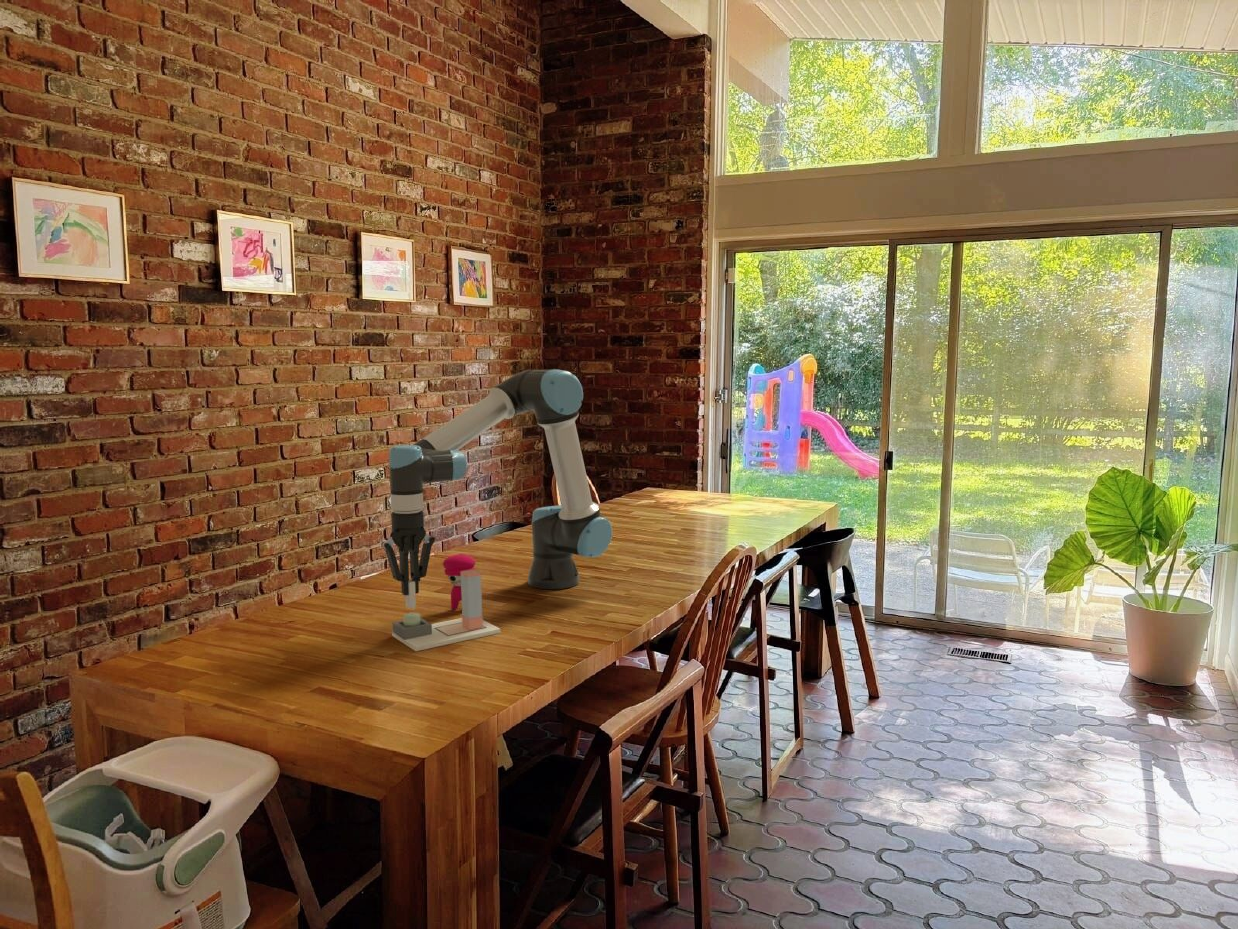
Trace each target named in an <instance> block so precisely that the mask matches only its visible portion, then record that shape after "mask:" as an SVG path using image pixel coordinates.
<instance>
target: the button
mask: <svg viewBox="0 0 1238 929" xmlns="http://www.w3.org/2000/svg"><path fill="white" fill-rule="evenodd" d="M420 618H421V613H418V612H409V613H404V614H403V616H402V619H403V620H402V621H403V623H404V627H406V628H408V627H413V626H418V625H421V621H420Z"/></svg>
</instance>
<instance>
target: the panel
mask: <svg viewBox="0 0 1238 929" xmlns="http://www.w3.org/2000/svg"><path fill="white" fill-rule="evenodd" d="M420 621H421V625H418V626H413V627H408V628H406V627H404V623H403V620H398V621H395V622H394V621H393V622H392V632H391V633H392V634H391V635H392V637H393V638H395V639H396V640H398V641H400V642H401V643H402V644H404V645H406V646H407V647H409V648H410V649H411V650H413V651H414V652H419V651H424V650H428V649H432V648H437V647H442V646H445V645H452V644H455V643H459V642H460V643H461V642H464V641H469V640H474V639H479V638H485V637H488V636H492V635H497V634H501V628H499V627H498V626H495V625H494V624H492V623H490V622H489V621H485V620H484V619H483V628H479V629H475V630H470V631H469V630H467V629H465V628H463V627H462V617H459V618H455V619H450V620H446V621H445V620H444V621H439V622H435V623H430V622H428V621H427V620H426V619H424V618H422V617H420Z"/></svg>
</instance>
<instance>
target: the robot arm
mask: <svg viewBox="0 0 1238 929" xmlns="http://www.w3.org/2000/svg"><path fill="white" fill-rule="evenodd" d="M583 391H584V390H583V386H582V384H581V382H580V380H579V379H578V377H577V376H576V375H575V374H573V373H572V372H570V371H568V370H562V369H558V368H557V369H556V368H553V369H526V370H523V371H521V372H517V373H516V374H514V375H512V376H510V377H508V378H506V379H505V380H504V381H502V382H500V383H499V384H497V385H496V386H494V387H493V388H491V389H490V390H489V392H488V395H487V396H486V397H484V398H482V399H481V400H479V401H478V402H476V403H475V404H473V405H472V406H471V407H468V409H466V410H464V411H463V412H461V413H459V414H458V415H457V416H455V417H453V418H452V419H451V420H448V422H446V423H445V424H443V425H441V426H440V427H438V428H437V429H435V430H434V431H432V432H431V433H429V434H428V435H425V437H423V438H422V439H420V440H419V441H417V442H415V443H413V444H403V445H393V446H392V447H391V448H390V449H389V451H388V452H389V454H388V469H389V472H388V473H389V485H390V486H389V487H390V488H389V489H390V494H389V495H390V510H391V511H392V512H391V513H390V518H391V520H390V521H391V522H390V524H391V533H390V535H389V538H388V539H387V540H386V541H382V542H381V543H380V546H381V547H382V549H383V550H384V551H385V554H386V557H387V561H388V566H389V568H390V572H391V575H392V578H393V579H394V580H396V581H397V582H401V583H400V584H401V585H400V586H401V587H400V588H401V594H402V595H403V596H405V597H404V598H405V608H407V609H409V610H414V609H417V600H416V597H417V596H416V594H419V592H420V590H419V589H420V584H419V583H420V581H421V579H422V578H425V577H427V572H428V568H429V566H428V565H429V561H430V557H431V551H432V547H433V545H434V543H435V542H436V537H434V536H431V535H430V534H427V531H426V530H425V516H424V514H425V512H424V511H423V509H424V485H425V484H426V485H427V484H432V483H433V484H434V483H442V482H453V481H456V480H461V479H463V478H464V477H465V476H466V474H467V471H468V461H467V458H466V455H464V454H465V453H463V452H462V451H461V450H460V449H462V448H463V447H464V446H466V445H468V444H469V443H471V442H472V441H473V440H474V439H476V438H478V437H479V436H480V435H482V434H483V433H485V432H486V431H488V430H489V429H491V428H493V427H494V426H496V425H497V424H499V423H500V422H502V421H503V420H504V419H505V420H509V419H510V420H511V419H513V418H514V417H516V416H517V415H519V414H523V413H530V412H531V413H534V414H535V420H536V423H537V425H539V426H540V427H541V428H543V429H544V433H545V437H546V442H547V446H548V450H549V455H550V459H551V464H552V468H553V472H554V478H555V481H556V485H557V490H558V496H559V498H560V503H561V505H558V504H557V505H551V506H543V507H537V508H535V509H534V510H533V511H532V521H531V529H532V530H531V531H532V532H531V533H532V554H533V555H532V556H533V557H532V561H531V565H530V568H529V572H528V575H527V584H528V586H529V587H531V588H535V589H540V590H562V589H568V588H572V587H575V586H576V585H578V584H579V582H580V576H579V575H580V574H579V572H578V571H579V570H578V569H577V568H578V567H577V566H576V563H575V560H574V558H573V555H577V556H579V557H582V558H597V557H600V556H601V555H603V554H604V553H605V552H606V551H607V549H608V548H609V545H610V544H611V542H612V538H613V527H612V524H611V521H610V520H608V519H607V518H605V517H603V516H602V515H601V510H600V506H599V504H597V503H596V502H594V501H593V499H592V494H591V490H590V486H589V480H588V477H587V472H586V467H585V462H584V457H583V453H582V448H581V444H580V439H579V434H578V429H577V426H576V420H577V419H578V417H579V415H580V413H579V409H580V408H581V406H582V404H583V403H582V401H583V399H584V392H583ZM422 542H423V544H422ZM394 544H395V546H396V547H397V548H398V554H399V564H398V560H397V556H396V553H395V550H394V547H395V546H394ZM421 544H422V546H421ZM420 546H421V552H420ZM419 553H420V557H419ZM409 569H410V570H409Z"/></svg>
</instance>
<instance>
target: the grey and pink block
mask: <svg viewBox="0 0 1238 929" xmlns="http://www.w3.org/2000/svg"><path fill="white" fill-rule="evenodd" d="M460 572H461V593H462V601H461V618H462V627H463V628H465V629H467V630H469V631H470V630H475V629H479V628H483V620H484V618H483V600H482V597H483V596H482V572H481V571H479V570H477V569H475V568H474V569H472V570H466V571H460Z"/></svg>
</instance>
